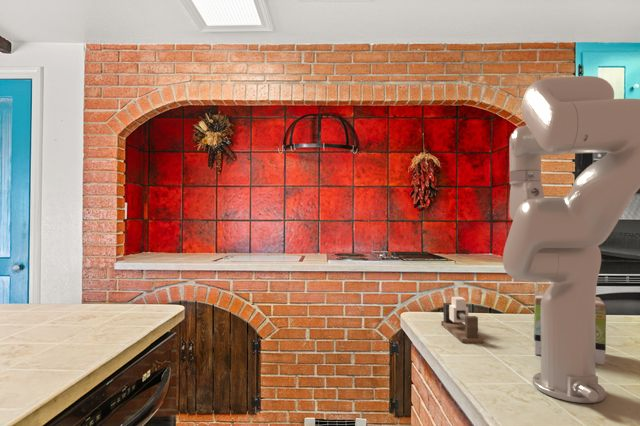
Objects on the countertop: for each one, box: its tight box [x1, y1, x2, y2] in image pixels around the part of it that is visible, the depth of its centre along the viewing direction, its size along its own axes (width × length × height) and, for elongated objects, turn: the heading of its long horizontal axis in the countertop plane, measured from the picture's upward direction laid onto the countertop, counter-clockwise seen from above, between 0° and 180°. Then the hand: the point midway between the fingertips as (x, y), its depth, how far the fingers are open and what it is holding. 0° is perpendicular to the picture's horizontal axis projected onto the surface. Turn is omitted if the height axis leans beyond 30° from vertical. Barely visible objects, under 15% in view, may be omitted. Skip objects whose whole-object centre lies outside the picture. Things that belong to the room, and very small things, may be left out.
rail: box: [441, 302, 485, 344], centre depth 120 cm, size 18×6×7 cm, turn 1°
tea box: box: [533, 291, 607, 366], centre depth 102 cm, size 15×10×15 cm, turn 62°
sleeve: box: [449, 296, 469, 323], centre depth 121 cm, size 4×4×7 cm
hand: (525, 246), depth 106 cm, fingers closed
